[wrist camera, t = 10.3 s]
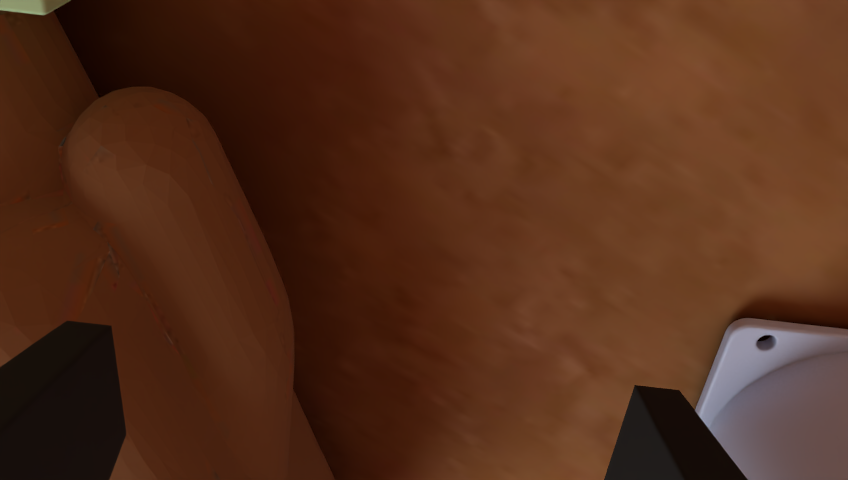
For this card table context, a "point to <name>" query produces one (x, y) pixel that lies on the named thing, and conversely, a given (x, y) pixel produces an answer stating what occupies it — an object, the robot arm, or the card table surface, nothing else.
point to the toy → (145, 266)
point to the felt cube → (31, 6)
